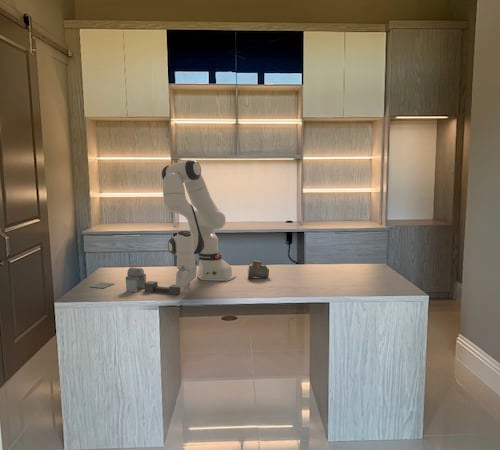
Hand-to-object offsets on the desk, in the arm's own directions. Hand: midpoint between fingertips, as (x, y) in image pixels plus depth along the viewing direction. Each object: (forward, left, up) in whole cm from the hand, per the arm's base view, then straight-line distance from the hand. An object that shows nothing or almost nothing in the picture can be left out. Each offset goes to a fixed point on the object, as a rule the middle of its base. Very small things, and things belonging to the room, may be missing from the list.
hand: (186, 291), depth 220 cm
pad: (+52, 0, -2) cm, 52 cm away
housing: (+30, 0, -2) cm, 30 cm away
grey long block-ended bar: (+15, 0, -2) cm, 15 cm away
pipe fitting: (-22, -43, -2) cm, 48 cm away
